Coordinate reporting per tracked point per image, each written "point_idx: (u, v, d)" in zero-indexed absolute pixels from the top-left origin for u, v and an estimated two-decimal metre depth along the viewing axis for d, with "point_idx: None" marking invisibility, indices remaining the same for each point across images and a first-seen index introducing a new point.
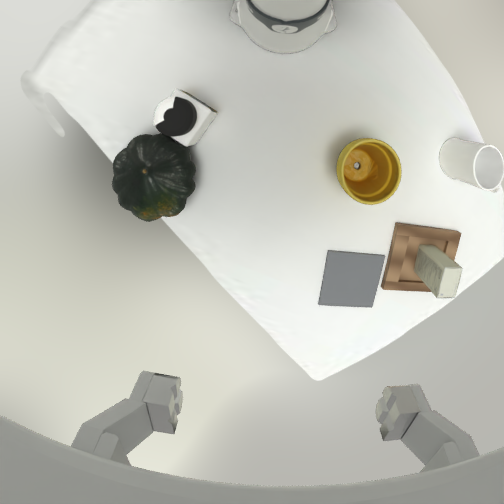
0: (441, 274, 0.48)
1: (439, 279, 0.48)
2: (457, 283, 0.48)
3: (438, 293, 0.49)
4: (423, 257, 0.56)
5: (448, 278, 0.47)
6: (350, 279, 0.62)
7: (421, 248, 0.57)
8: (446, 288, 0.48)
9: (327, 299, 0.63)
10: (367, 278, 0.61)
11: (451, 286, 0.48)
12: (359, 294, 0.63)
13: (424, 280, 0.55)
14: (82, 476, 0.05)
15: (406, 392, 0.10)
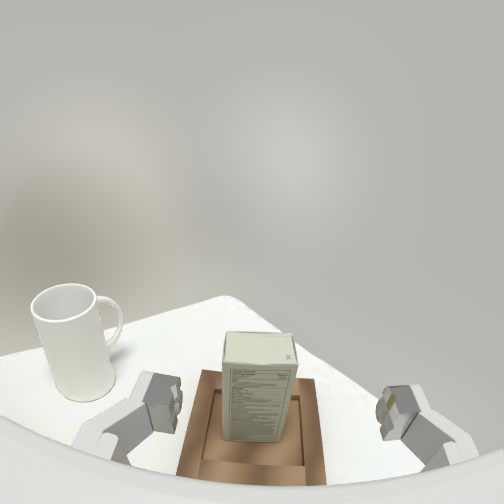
0: (241, 368, 0.24)
1: (254, 371, 0.24)
2: (260, 334, 0.27)
3: (287, 364, 0.24)
4: (239, 425, 0.27)
5: (249, 350, 0.25)
6: None
7: (226, 433, 0.28)
8: (272, 352, 0.25)
9: None
10: None
11: (267, 343, 0.26)
12: None
13: (282, 411, 0.26)
14: (82, 476, 0.05)
15: (406, 392, 0.10)
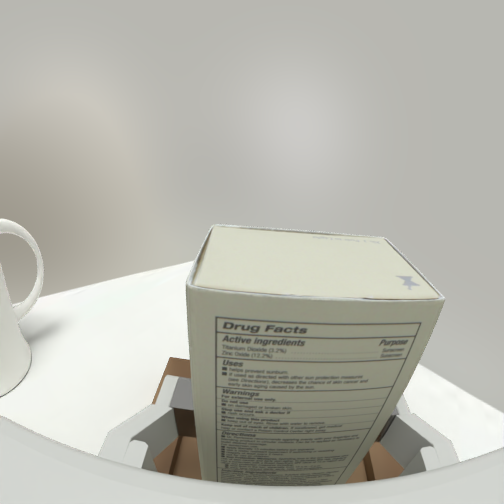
0: (258, 314, 0.06)
1: (307, 329, 0.07)
2: (307, 234, 0.10)
3: (415, 299, 0.07)
4: (243, 482, 0.10)
5: (284, 261, 0.08)
6: None
7: None
8: (357, 267, 0.08)
9: None
10: None
11: (333, 249, 0.09)
12: None
13: (357, 451, 0.09)
14: (82, 476, 0.05)
15: None
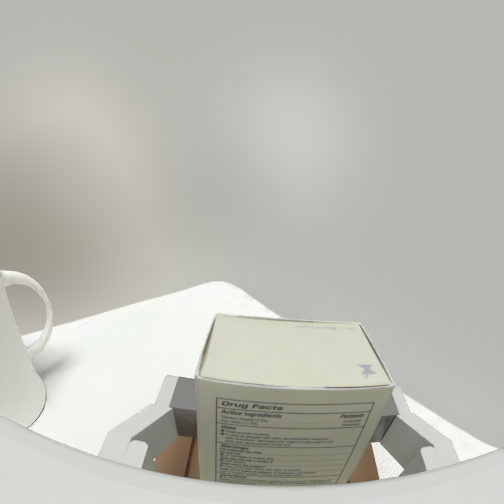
0: (246, 397, 0.08)
1: (282, 407, 0.08)
2: (292, 323, 0.12)
3: (369, 386, 0.08)
4: None
5: (269, 354, 0.10)
6: None
7: None
8: (327, 358, 0.10)
9: None
10: None
11: (311, 339, 0.11)
12: None
13: None
14: (82, 476, 0.05)
15: None
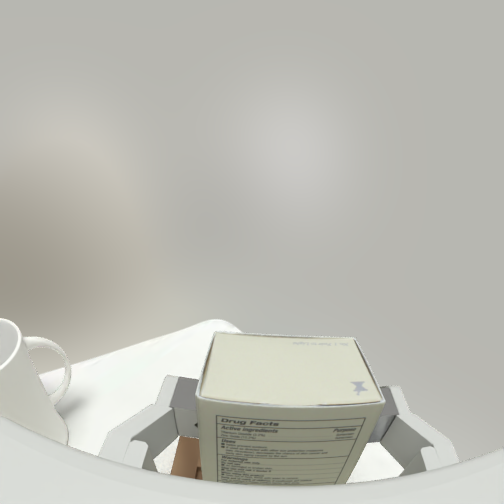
0: (244, 415, 0.09)
1: (278, 423, 0.09)
2: (288, 340, 0.12)
3: (360, 403, 0.09)
4: None
5: (266, 373, 0.10)
6: None
7: None
8: (321, 375, 0.10)
9: None
10: None
11: (307, 356, 0.11)
12: None
13: None
14: (82, 476, 0.05)
15: (385, 394, 0.10)
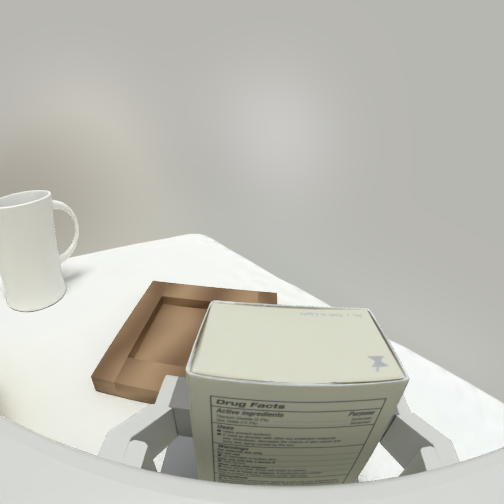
0: (244, 395, 0.07)
1: (284, 405, 0.08)
2: (295, 310, 0.11)
3: (380, 381, 0.07)
4: None
5: (270, 346, 0.09)
6: None
7: None
8: (333, 349, 0.09)
9: None
10: None
11: (316, 328, 0.10)
12: None
13: None
14: (82, 476, 0.05)
15: None
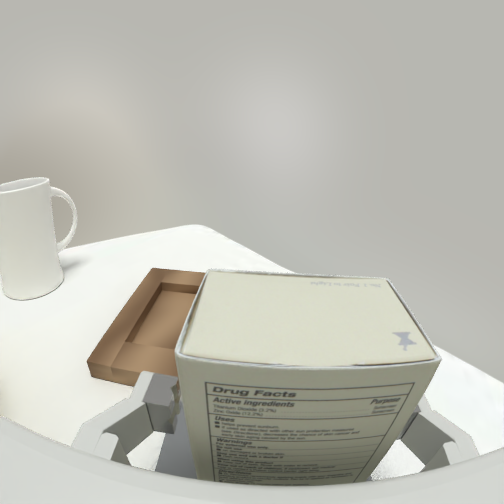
0: (246, 381, 0.06)
1: (296, 393, 0.06)
2: (305, 279, 0.10)
3: (409, 362, 0.06)
4: None
5: (277, 320, 0.07)
6: None
7: None
8: (352, 324, 0.07)
9: None
10: None
11: (330, 299, 0.08)
12: None
13: None
14: (82, 476, 0.05)
15: None
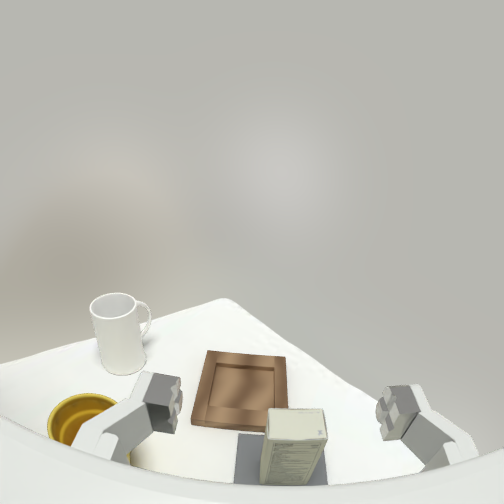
0: (282, 442, 0.27)
1: (293, 444, 0.27)
2: (296, 411, 0.30)
3: (319, 438, 0.27)
4: (275, 475, 0.30)
5: (289, 427, 0.28)
6: None
7: (263, 480, 0.31)
8: (307, 428, 0.28)
9: None
10: None
11: (303, 419, 0.29)
12: None
13: (311, 466, 0.29)
14: (82, 476, 0.05)
15: (406, 392, 0.10)
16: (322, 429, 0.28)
